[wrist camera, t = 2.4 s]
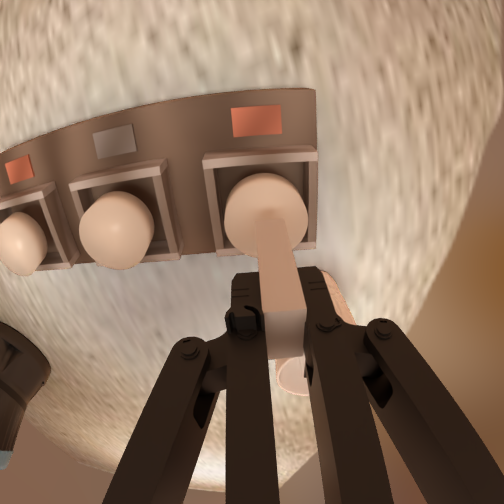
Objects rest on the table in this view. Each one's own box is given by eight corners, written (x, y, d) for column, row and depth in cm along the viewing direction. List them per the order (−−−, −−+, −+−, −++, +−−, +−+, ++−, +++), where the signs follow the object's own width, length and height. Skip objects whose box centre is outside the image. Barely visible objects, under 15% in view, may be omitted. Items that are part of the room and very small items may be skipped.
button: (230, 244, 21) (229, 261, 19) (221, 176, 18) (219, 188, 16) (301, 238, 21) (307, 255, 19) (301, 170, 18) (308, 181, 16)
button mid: (102, 256, 21) (93, 271, 19) (82, 197, 18) (69, 209, 16) (161, 250, 21) (155, 267, 19) (145, 186, 18) (136, 198, 16)
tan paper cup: (258, 274, 29) (265, 358, 21) (336, 253, 28) (370, 331, 20) (277, 326, 33) (287, 403, 25) (344, 308, 32) (369, 382, 24)
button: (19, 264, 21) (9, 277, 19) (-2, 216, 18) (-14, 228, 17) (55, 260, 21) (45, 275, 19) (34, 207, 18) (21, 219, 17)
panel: (42, 251, 27) (20, 279, 22) (7, 149, 20) (-25, 167, 16) (307, 226, 26) (320, 258, 22) (306, 88, 20) (323, 91, 15)
